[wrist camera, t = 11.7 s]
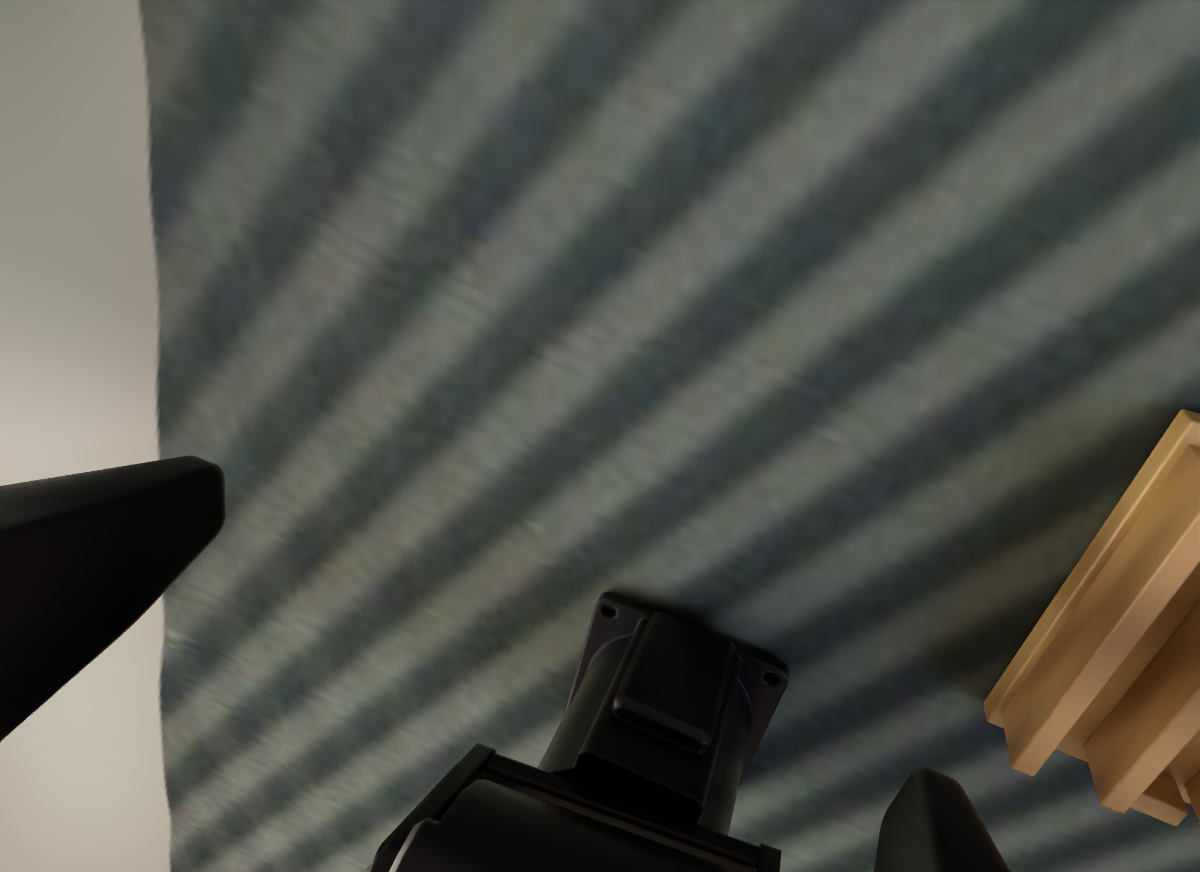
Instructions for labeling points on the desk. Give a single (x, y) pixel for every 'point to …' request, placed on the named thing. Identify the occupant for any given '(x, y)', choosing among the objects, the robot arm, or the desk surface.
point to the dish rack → (1122, 648)
